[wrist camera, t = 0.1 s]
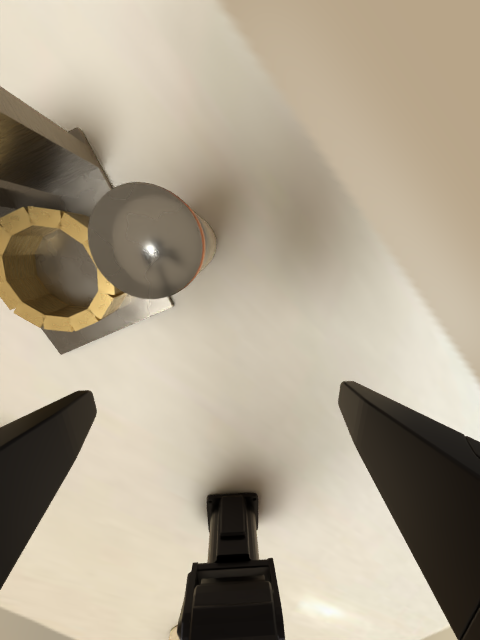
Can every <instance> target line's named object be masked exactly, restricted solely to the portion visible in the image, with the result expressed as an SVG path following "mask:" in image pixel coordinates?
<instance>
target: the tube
mask: <svg viewBox="0 0 480 640" xmlns="http://www.w3.org/2000/svg"><path fill="white" fill-rule="evenodd" d="M88 243H89V248H90V252H91V255H92V257H93V260H94V262H95V264H96V266H97V268H98V269H99V270H100V272H101V273H102V275H103V276H104V277H105V278H106V279H107V280H108V281H109V282H110V283H111V284H112V285H113V286H115V287H116V288H118V289H119V290H121V291H123V292H124V293H126V294H129V295H131V296H134V297H138V298H143V299H160V298H165V297H168V296H171V295H173V294H175V293H177V292H179V291H181V290H182V289H184V288H185V287H186V286H187V285H188V284H189V283H190V282H191V281H192V280H193V279H194V278H195V277H196V276H197V274H198V273H199V272H200V271H202V270H203V269H204V268H205V267H206V266H207V265H208V264H209V263H210V262H211V260H212V259H213V257H214V255H215V252H216V238H215V234H214V232H213V230H212V228H211V227H210V226H209V225H208V223H206V222H205V221H204V220H203V219H202V218H201V217H200V216H198V215H197V214H196V213H195V212H194V211H193V210H192V209H191V208H190V207H189V206H188V205H187V204H186V203H185V202H183V201H182V200H181V199H180V198H179V197H178V196H176V195H175V194H173V193H172V192H170V191H168V190H166V189H164V188H162V187H159V186H156V185H154V184H149V183H142V182H133V183H126V184H122V185H120V186H117V187H115V188H113V189H111V190H110V191H108V192H107V193H106V194H105V195H103V196H102V197H101V199H100V200H99V201H98V202H97V204H96V205H95V207H94V209H93V211H92V213H91V216H90V220H89V224H88Z"/></svg>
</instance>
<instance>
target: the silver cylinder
mask: <svg viewBox="0 0 480 640" xmlns="http://www.w3.org/2000/svg"><path fill="white" fill-rule="evenodd" d="M169 640H180V639H179V637H178V635H177V626H176V627H174V628H173V629H172V630H171V632H170V635H169Z"/></svg>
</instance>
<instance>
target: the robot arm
mask: <svg viewBox="0 0 480 640" xmlns="http://www.w3.org/2000/svg"><path fill="white" fill-rule="evenodd" d="M338 404H339V408H340V410H341V413H342V415H343V418H344V420H345V422H346V425H347V427H348V430H349V432H350V435H351V437H352V440H353V442H354V444H355V447H356V448H357V450H358V452H359V454H360V456H361V458H362V460H363V462H364V464H365V466H366V468H367V469H368V471H369V473H370V475H371V477H372V479H373V481H374V483H375V485H376V486H377V488H378V490H379V492H380V494H381V496H382V498H383V500H384V501H385V503H386V505H387V507H388V509H389V511H390V513H391V515H392V517H393V518H394V520H395V522H396V524H397V526H398V528H399V530H400V532H401V534H402V535H403V537H404V539H405V541H406V543H407V545H408V547H409V549H410V550H411V552H412V554H413V556H414V558H415V560H416V562H417V564H418V566H419V567H420V569H421V571H422V573H423V575H424V577H425V579H426V581H427V582H428V584H429V586H430V588H431V590H432V592H433V594H434V596H435V598H436V599H437V601H438V603H439V605H440V607H441V609H442V611H443V613H444V615H445V616H446V618H447V620H448V622H449V624H450V626H451V628H452V629H453V631H454V633H455V635H456V637H457V639H458V640H480V442H478V441H476V440H474V439H472V438H470V437H468V436H464V434H462V433H460V432H458V431H456V430H453V429H451V428H449V427H447V426H445V425H443V424H441V423H439V422H437V421H435V420H433V419H431V418H429V417H427V416H424V415H422V414H420V413H418V412H416V411H414V410H412V409H410V408H408V407H406V406H404V405H402V404H400V403H398V402H396V401H393V400H391V399H389V398H387V397H385V396H383V395H381V394H379V393H377V392H375V391H373V390H371V389H369V388H367V387H365V386H362V385H360V384H358V383H356V382H354V381H343V382H342V383H341V385H340V392H339V399H338ZM96 413H97V409H96V405H95V401H94V397H93V394H92V392H91V391H89V390H85V391H76V392H74V393H72V394H70V395H68V396H66V397H64V398H62V399H59V400H57V401H55V402H53V403H51V404H49V405H47V406H45V407H43V408H41V409H38V410H36V411H34V412H32V413H30V414H28V415H26V416H24V417H22V418H20V419H17V420H15V421H13V422H11V423H9V424H7V425H5V426H3V427H1V428H0V589H1V588H2V586H3V584H4V583H5V581H6V579H7V577H8V576H9V574H10V572H11V571H12V569H13V567H14V565H15V564H16V562H17V560H18V558H19V557H20V555H21V553H22V552H23V550H24V548H25V546H26V545H27V543H28V541H29V539H30V538H31V536H32V534H33V533H34V531H35V529H36V527H37V526H38V524H39V522H40V520H41V519H42V517H43V515H44V514H45V512H46V510H47V508H48V507H49V505H50V503H51V501H52V500H53V498H54V496H55V495H56V493H57V491H58V489H59V488H60V486H61V484H62V482H63V481H64V479H65V477H66V476H67V474H68V472H69V470H70V469H71V467H72V465H73V463H74V462H75V460H76V458H77V456H78V454H79V452H80V450H81V447H82V445H83V443H84V441H85V439H86V437H87V434H88V432H89V430H90V428H91V426H92V424H93V421H94V419H95V417H96ZM207 514H208V526H209V532H210V536H209V550H208V563H200V564H198V562H197V563H193V565H192V571H191V572H190V573H189V574H188V577H187V584H186V592H185V597H184V602H183V606H182V609H181V613H180V617H179V621H178V626H177V635H178V637H179V639H180V640H285V634H284V624H283V615H282V608H281V602H280V596H279V590H278V585H277V579H276V573H275V568H274V562H273V558H268V559H267V560H259V553H258V542H257V531H256V530H257V529H258V495H257V494H256V493H247V494H227V495H210V496H208V497H207Z"/></svg>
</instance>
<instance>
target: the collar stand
mask: <svg viewBox="0 0 480 640" xmlns="http://www.w3.org/2000/svg"><path fill="white" fill-rule="evenodd" d="M111 189H113V188H112V187H111V185H110V183H109V181H108V179H107V177H106V175H105V173H104V171H103V169H102V168H101V166H100V164H99V162H98V160H97V158H96V156H95V154H94V152H93V151H92V149H91V147H90V145H89V143H88V141H87V139H86V137H85V135H84V133H83V132H82V130H80V129H79V128H78V127H77V128H75V129H73V130H71V131H69V132H67V131H65V130H64V129H62V128H61V127H59V126H58V125H56V124H55V123H53V122H52V121H51V120H49V119H48V118H46V117H45V116H43V115H42V114H40V113H39V112H37V111H36V110H34V109H33V108H31V107H30V106H28V105H27V104H26V103H24V102H23V101H21V100H20V99H18V98H17V97H15V96H14V95H12V94H11V93H9V92H8V91H6V90H5V89H3V88H2V87H1V86H0V297H1V299H2V300H3V301H4V302H5V304H6V305H7V306H8V308H9V309H10V310H11V309H15V308H16V309H15V311H14V313H15V314H17V315H18V316H20V317H22V318H24V319H25V320H27V321H29V322H31V323H32V324H34V325H36V326H38V327H39V328H41V329H42V330H43V331H44V333H45V334H46V335H47V337H48V338H49V339H50V341H51V342H52V343H53V345H54V346H55V348H56V349H57V350H58V352H59V353H60V354H61V355H62V354H64V353H66V352H69V351H71V350H73V349H76V348H78V347H80V346H83V345H85V344H87V343H90V342H92V341H94V340H97V339H99V338H101V337H104V336H106V335H108V334H111V333H113V332H115V331H118V330H120V329H122V328H125V327H127V326H129V325H132V324H134V323H136V322H139V321H141V320H143V319H146V318H148V317H150V316H153V315H155V314H157V313H160V312H162V311H164V310H167V309H169V308H171V307H173V306H174V304H173V302H172V300H171V298H170V296H168V297H165V298H160V299H143V298H138V297H134V296H131V295H129V294H126V293H124V292H123V291H121V290H119V289H118V288H116V287H115V286H113V285H112V284H111V283H110V282H109V281H108V280H107V279H106V278H105V277H104V276H103V275H102V273H101V272H100V270H99V269H98V268H97V266H96V264H95V262H94V260H93V257H92V255H91V252H90V248H89V243H88V224H89V220H90V216H91V213H92V211H93V209H94V207H95V205H96V204H97V202H98V201H99V200H100V199H101V197H102V196H103V195H105V194H106V193H107V192H108V191H110V190H111Z"/></svg>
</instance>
